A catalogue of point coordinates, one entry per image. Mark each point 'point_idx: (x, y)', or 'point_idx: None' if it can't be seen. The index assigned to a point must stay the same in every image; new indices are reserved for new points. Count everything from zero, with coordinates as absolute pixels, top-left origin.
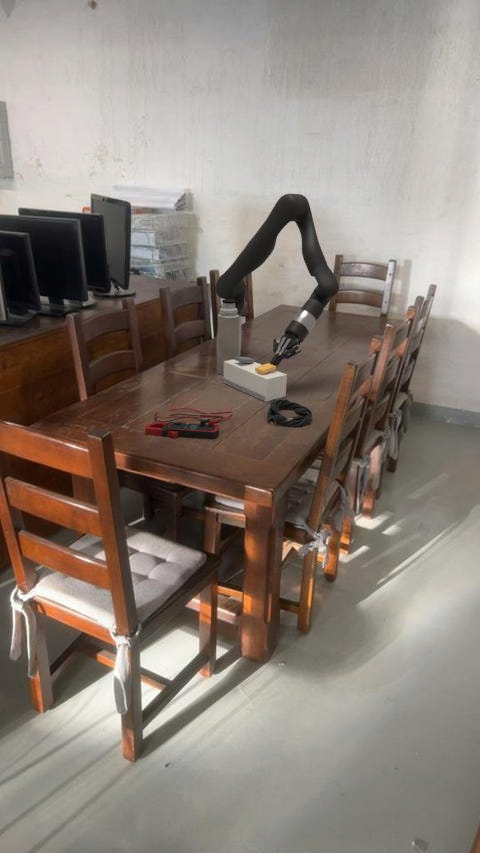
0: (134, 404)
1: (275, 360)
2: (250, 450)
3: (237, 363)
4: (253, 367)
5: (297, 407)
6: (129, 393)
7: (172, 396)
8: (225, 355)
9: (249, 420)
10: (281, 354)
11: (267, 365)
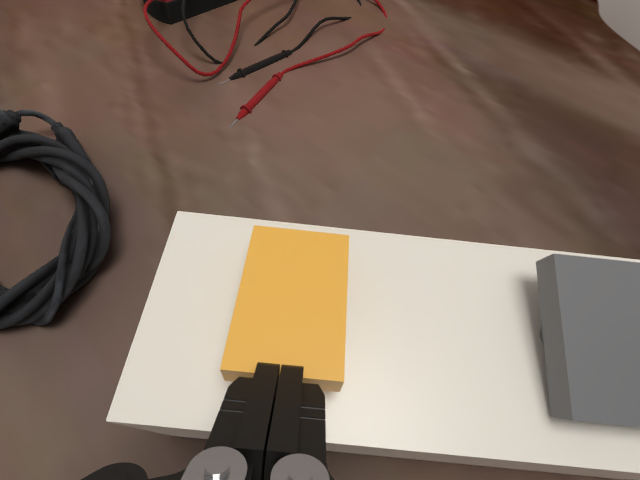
0: (472, 11)
1: (250, 392)
2: (18, 6)
3: None
4: (447, 329)
5: None
6: (564, 38)
7: (485, 88)
8: None
9: (139, 112)
10: (187, 476)
11: (300, 325)
